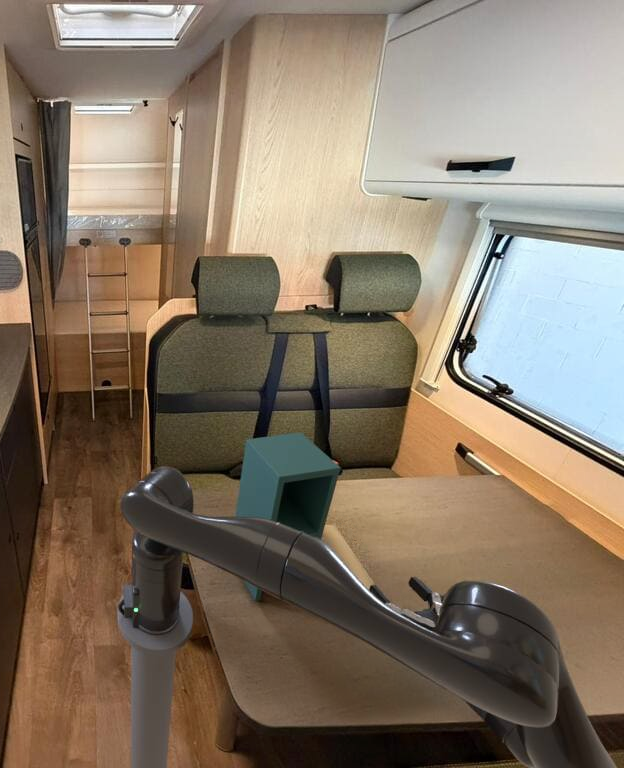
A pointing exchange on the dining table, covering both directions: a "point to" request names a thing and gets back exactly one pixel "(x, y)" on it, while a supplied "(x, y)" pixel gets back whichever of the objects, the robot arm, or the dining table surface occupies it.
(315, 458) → the shelf
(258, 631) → the dining table surface
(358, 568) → the cutting board
